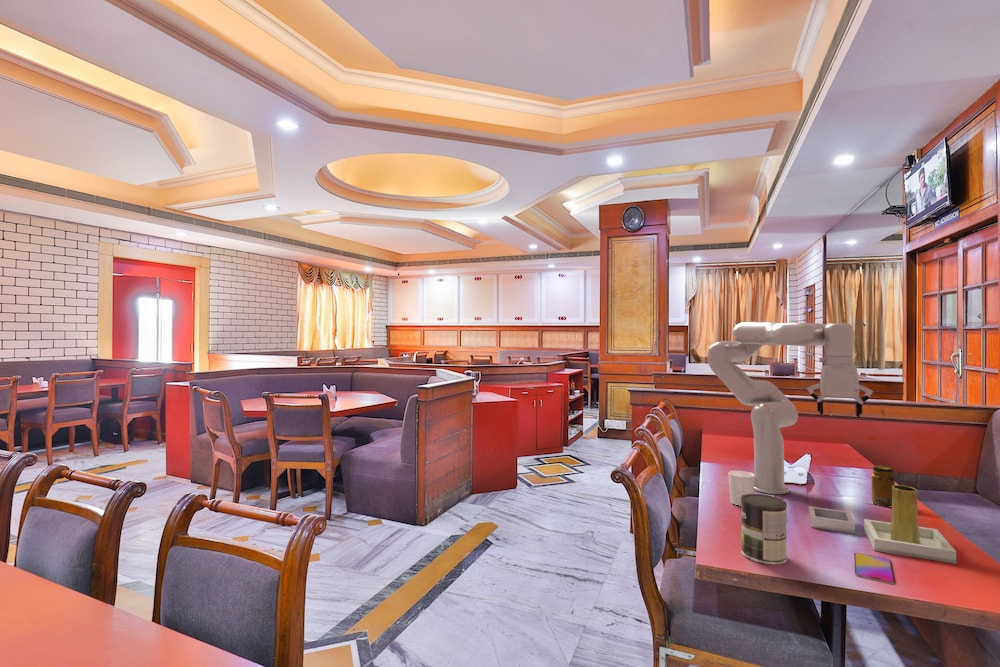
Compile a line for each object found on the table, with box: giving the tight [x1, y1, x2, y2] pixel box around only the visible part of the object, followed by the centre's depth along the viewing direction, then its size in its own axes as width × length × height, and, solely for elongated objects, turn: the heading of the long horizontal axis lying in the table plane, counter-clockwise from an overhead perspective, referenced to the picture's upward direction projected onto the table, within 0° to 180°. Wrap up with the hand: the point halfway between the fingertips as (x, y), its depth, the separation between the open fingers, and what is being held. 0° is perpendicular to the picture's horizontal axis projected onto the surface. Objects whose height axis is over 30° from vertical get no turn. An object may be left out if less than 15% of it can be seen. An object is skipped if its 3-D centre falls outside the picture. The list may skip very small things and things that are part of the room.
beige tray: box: [863, 518, 957, 565], centre depth 131 cm, size 16×16×3 cm
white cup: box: [727, 470, 755, 507], centre depth 164 cm, size 8×8×10 cm
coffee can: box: [740, 493, 788, 566], centre depth 125 cm, size 10×10×14 cm
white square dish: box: [808, 506, 856, 535], centre depth 145 cm, size 10×10×3 cm
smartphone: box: [853, 552, 896, 585], centre depth 118 cm, size 7×1×15 cm
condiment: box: [867, 465, 896, 509], centre depth 163 cm, size 7×8×12 cm
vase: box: [890, 484, 920, 544], centre depth 131 cm, size 6×6×14 cm
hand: (839, 415), depth 158 cm, fingers open, 9 cm apart
